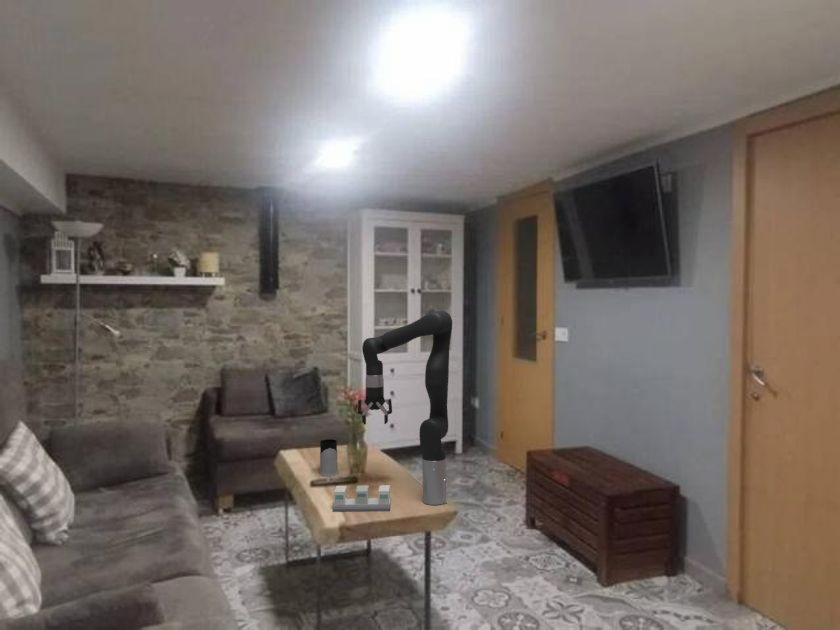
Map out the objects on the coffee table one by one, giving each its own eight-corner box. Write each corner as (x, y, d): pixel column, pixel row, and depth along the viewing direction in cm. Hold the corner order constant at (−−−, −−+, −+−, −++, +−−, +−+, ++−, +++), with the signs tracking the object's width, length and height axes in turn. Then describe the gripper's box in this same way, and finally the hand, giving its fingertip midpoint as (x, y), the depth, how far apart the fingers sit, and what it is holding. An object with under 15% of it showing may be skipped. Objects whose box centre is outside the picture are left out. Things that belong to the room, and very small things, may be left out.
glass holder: (320, 477, 269) (320, 444, 269) (316, 468, 283) (316, 437, 282) (339, 475, 272) (339, 442, 271) (335, 466, 285) (334, 435, 285)
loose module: (368, 498, 235) (368, 485, 235) (367, 504, 228) (367, 491, 228) (357, 498, 235) (357, 485, 235) (355, 504, 228) (355, 491, 228)
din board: (391, 500, 238) (390, 483, 237) (389, 511, 226) (389, 493, 225) (336, 500, 237) (336, 484, 237) (332, 511, 225) (332, 494, 225)
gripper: (392, 383, 252) (392, 421, 252) (358, 384, 252) (358, 422, 252) (391, 386, 244) (391, 425, 245) (356, 386, 244) (357, 426, 245)
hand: (375, 424), depth 249 cm, fingers open, 8 cm apart
